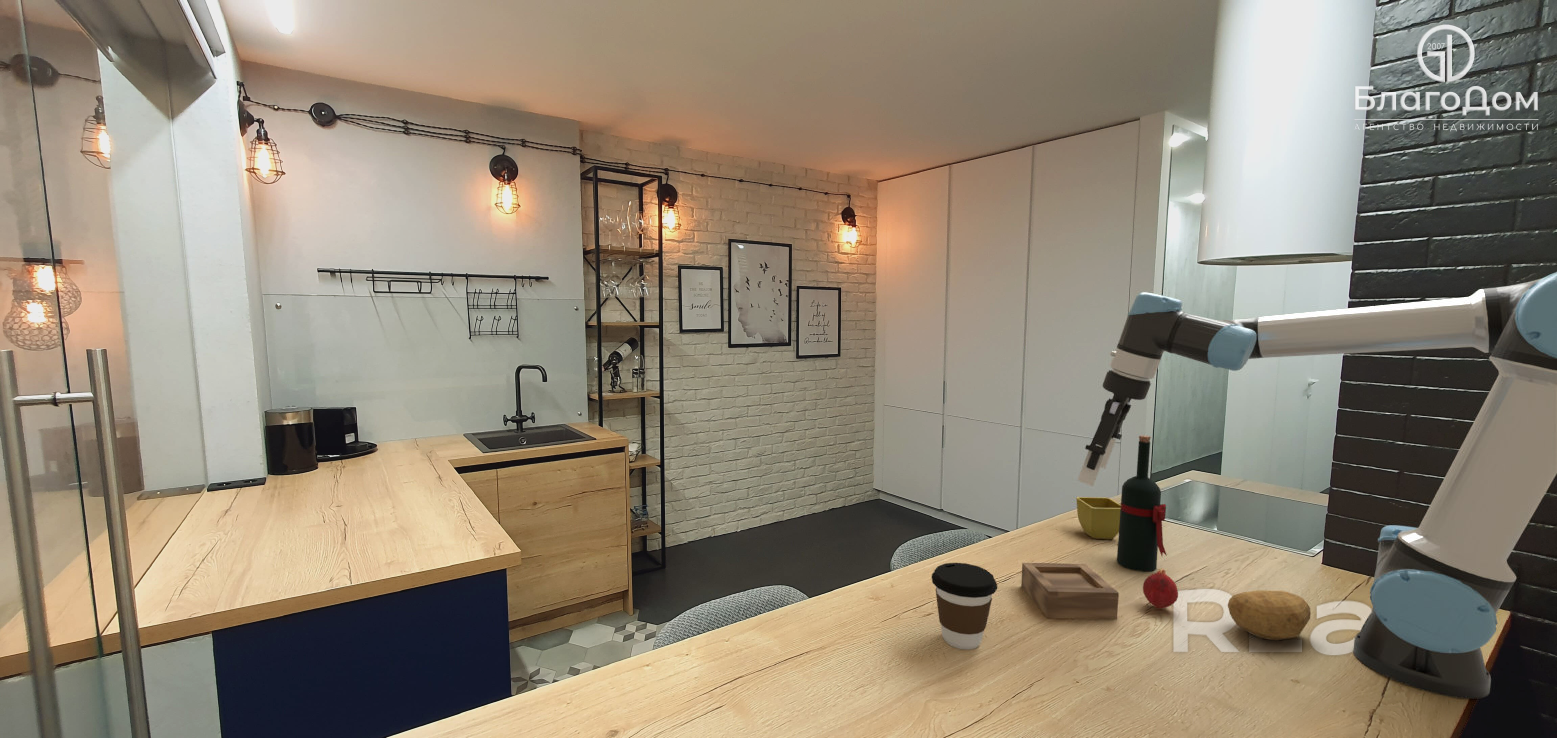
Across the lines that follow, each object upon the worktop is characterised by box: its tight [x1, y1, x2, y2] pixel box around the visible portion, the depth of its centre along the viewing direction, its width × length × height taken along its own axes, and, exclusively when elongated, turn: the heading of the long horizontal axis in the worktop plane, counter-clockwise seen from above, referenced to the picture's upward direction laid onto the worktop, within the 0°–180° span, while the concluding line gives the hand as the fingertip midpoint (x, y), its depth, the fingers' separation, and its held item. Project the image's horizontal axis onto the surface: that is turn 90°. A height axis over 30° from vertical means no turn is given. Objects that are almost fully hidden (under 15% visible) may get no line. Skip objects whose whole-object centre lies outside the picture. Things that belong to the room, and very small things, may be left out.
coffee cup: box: [931, 562, 998, 650], centre depth 104 cm, size 11×11×12 cm
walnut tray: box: [1020, 562, 1120, 620], centre depth 119 cm, size 13×13×5 cm
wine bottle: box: [1116, 435, 1168, 573], centre depth 135 cm, size 8×10×30 cm
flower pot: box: [1075, 496, 1121, 540], centre depth 155 cm, size 9×9×9 cm
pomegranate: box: [1142, 568, 1179, 610], centre depth 116 cm, size 6×6×8 cm
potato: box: [1227, 589, 1312, 641], centre depth 107 cm, size 10×14×8 cm
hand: (1091, 474), depth 119 cm, fingers open, 13 cm apart
